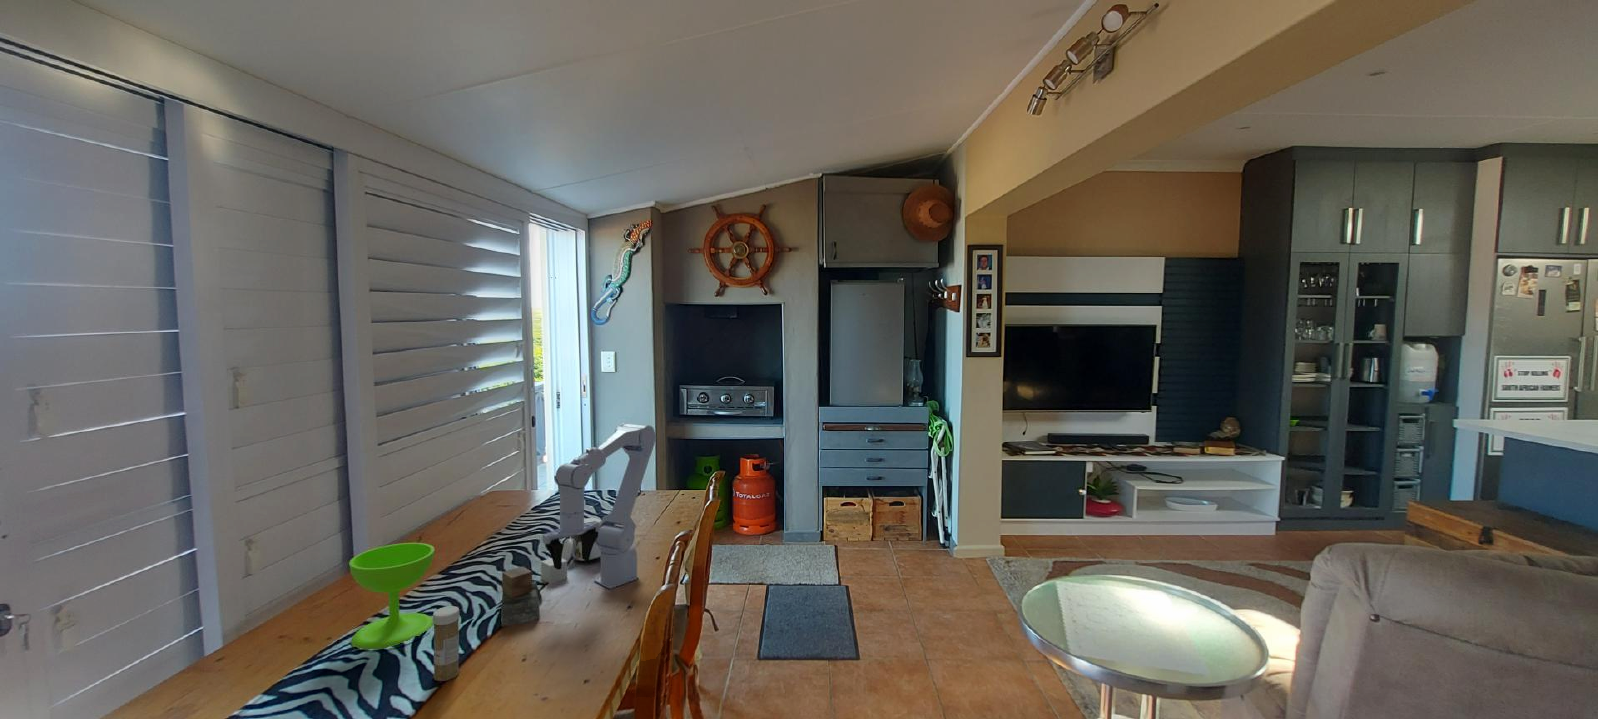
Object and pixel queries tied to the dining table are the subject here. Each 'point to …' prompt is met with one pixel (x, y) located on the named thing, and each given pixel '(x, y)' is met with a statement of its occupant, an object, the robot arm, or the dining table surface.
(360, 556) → the wineglass
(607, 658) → the dining table surface
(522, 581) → the walnut cube
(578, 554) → the spread jar
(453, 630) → the sprinkles bottle
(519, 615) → the stone block
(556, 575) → the grey cube
